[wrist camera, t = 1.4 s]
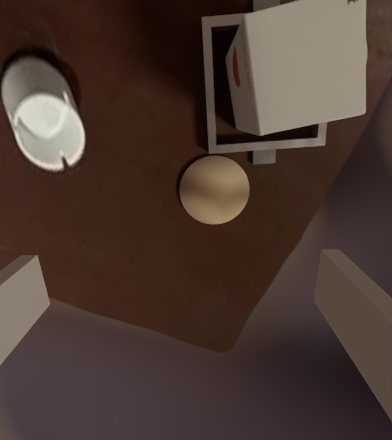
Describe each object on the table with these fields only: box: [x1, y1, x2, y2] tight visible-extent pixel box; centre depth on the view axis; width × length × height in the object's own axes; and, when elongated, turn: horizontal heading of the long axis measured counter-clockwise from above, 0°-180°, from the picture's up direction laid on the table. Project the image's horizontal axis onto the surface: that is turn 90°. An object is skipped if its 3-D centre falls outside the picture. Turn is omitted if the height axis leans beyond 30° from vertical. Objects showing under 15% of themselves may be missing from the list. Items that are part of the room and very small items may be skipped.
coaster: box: [180, 156, 249, 224], centre depth 39 cm, size 10×10×1 cm
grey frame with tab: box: [202, 0, 327, 164], centre depth 33 cm, size 19×15×2 cm
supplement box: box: [225, 0, 367, 136], centre depth 27 cm, size 9×9×15 cm
